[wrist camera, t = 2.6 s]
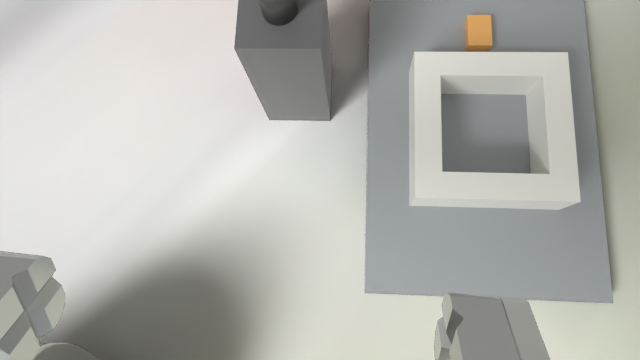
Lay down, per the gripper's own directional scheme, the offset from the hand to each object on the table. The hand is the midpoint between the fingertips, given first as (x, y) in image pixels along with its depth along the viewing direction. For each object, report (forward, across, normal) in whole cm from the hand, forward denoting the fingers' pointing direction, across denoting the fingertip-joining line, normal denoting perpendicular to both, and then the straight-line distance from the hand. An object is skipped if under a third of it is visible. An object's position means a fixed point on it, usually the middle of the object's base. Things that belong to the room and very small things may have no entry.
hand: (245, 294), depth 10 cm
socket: (+19, -10, +6) cm, 22 cm away
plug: (+21, +1, +4) cm, 21 cm away
